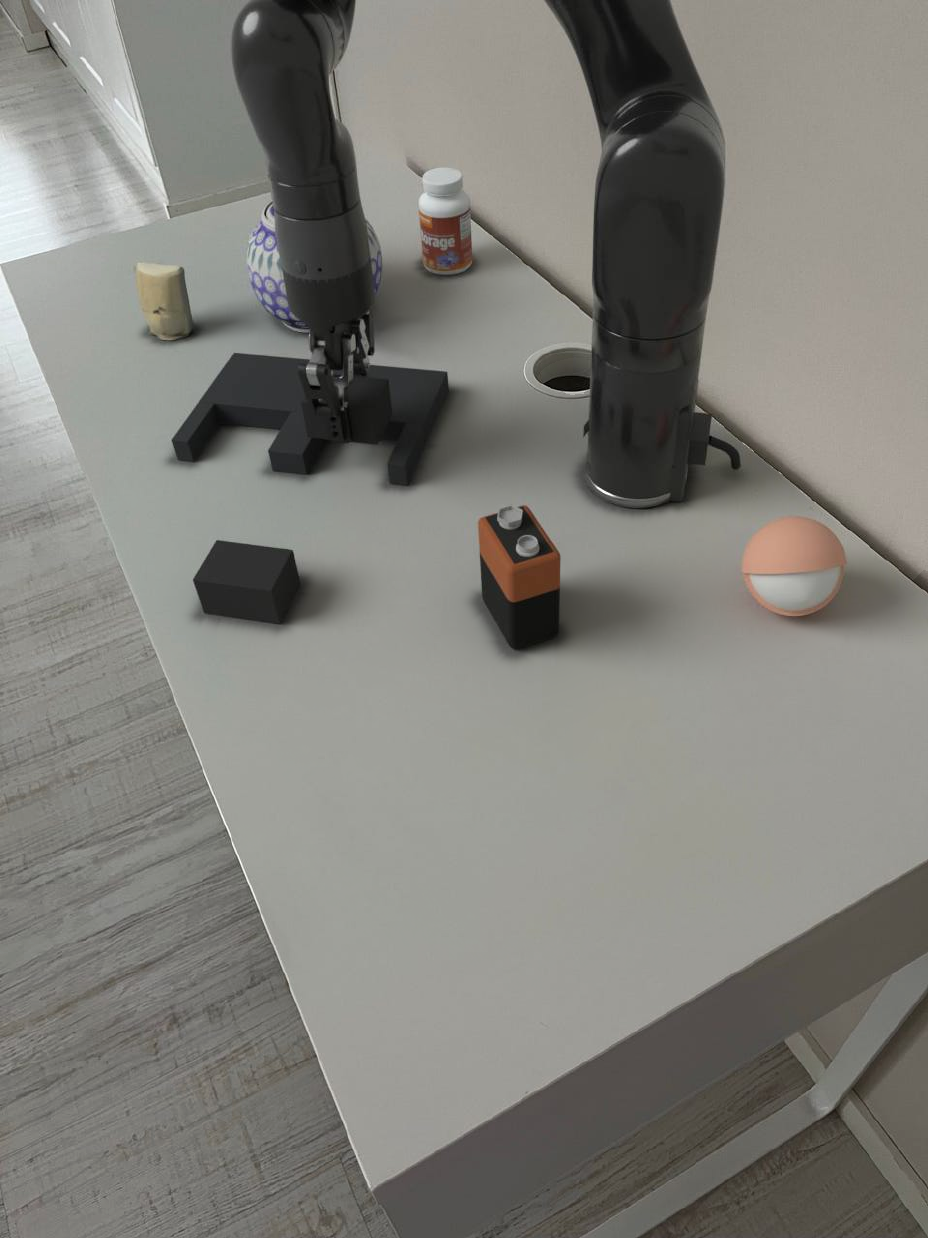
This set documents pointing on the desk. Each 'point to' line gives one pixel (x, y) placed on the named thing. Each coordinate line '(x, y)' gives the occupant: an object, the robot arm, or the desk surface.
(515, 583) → the battery
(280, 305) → the teapot
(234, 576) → the pad
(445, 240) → the pill bottle
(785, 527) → the toy ball
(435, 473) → the desk surface
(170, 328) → the beige upright cylinder
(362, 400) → the pad
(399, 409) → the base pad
